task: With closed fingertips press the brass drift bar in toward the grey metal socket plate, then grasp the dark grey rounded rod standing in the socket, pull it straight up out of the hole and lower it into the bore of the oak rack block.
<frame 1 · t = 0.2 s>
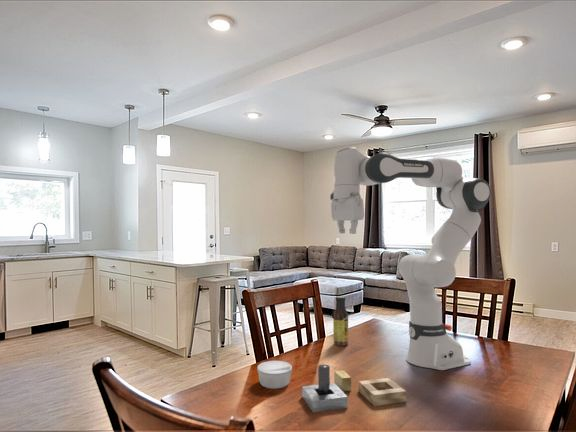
hand: (347, 233, 136), 47 cm above the table, fingers open, 8 cm apart
rack block: (381, 396, 114), on the table
socket plate: (324, 402, 111), on the table
ramekin: (274, 383, 124), on the table
dark grey rounded rod: (324, 384, 111), in the socket plate
sauce bottle: (341, 344, 164), on the table
drift bar: (342, 380, 121), point 2 cm above the table, slide at 0.0 cm
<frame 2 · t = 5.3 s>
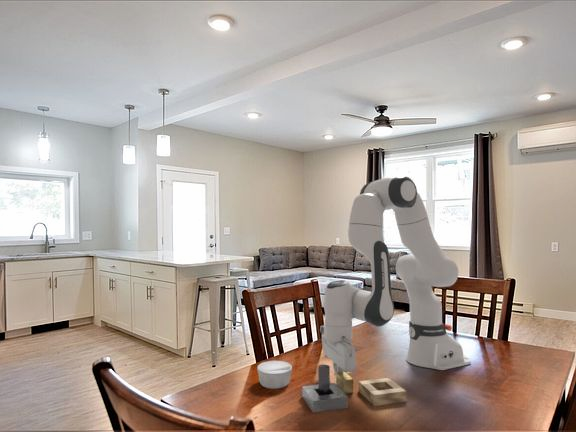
hand: (338, 376, 124), 2 cm above the table, fingers closed
drift bar: (344, 382, 119), point 2 cm above the table, slide at 1.5 cm, touching gripper
everything else where it was.
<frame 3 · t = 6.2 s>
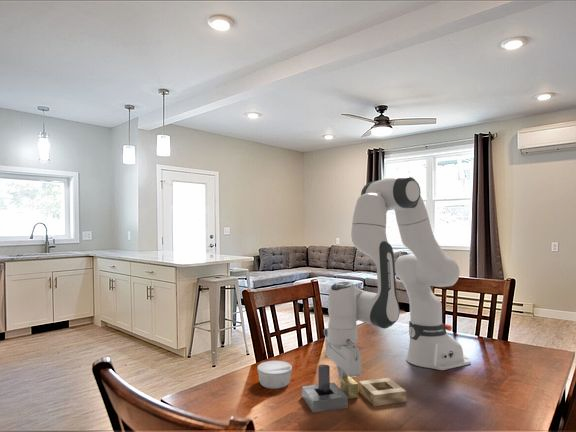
hand: (342, 380, 120), 2 cm above the table, fingers closed
drift bar: (349, 387, 116), point 2 cm above the table, slide at 5.0 cm, touching gripper
everything else where it was.
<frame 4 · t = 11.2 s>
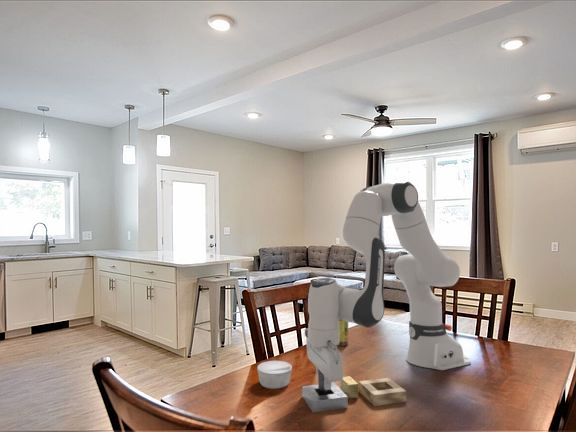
hand: (324, 385, 111), 5 cm above the table, fingers closed on dark grey rounded rod, 3 cm apart
dark grey rounded rod: (324, 384, 111), in the socket plate, touching gripper
drift bar: (349, 387, 116), point 2 cm above the table, slide at 5.0 cm
everything else where it was.
when the fingers open (6 cm above the table, at t = 17.1 s): dark grey rounded rod drops 1 cm, resting in rack block.
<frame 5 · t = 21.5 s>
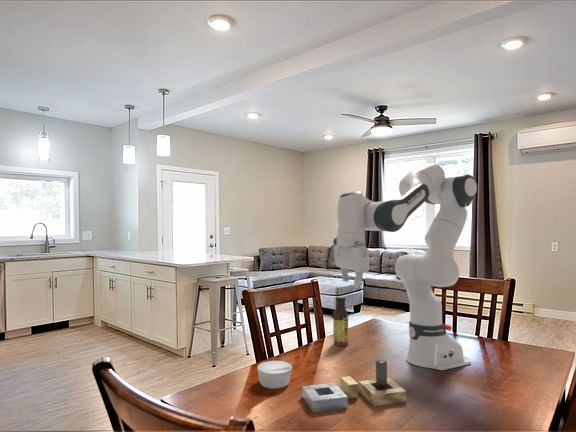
hand: (351, 283, 128), 31 cm above the table, fingers open, 8 cm apart
dark grey rounded rod: (381, 379, 114), in the rack block
everything else where it was.
at the end: dark grey rounded rod 0.1 cm off-centre on the rack block, point 5.0 cm above the rack block's base; the gripper is holding nothing; drift bar slide at 5.0 cm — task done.
